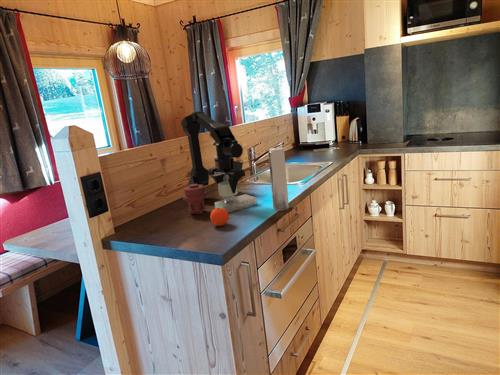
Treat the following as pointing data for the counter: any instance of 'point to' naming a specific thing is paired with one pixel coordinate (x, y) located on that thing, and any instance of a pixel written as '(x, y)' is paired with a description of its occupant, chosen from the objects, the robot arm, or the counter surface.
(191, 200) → the mechanical component
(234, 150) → the robot arm
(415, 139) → the counter surface
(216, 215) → the clementine
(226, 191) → the collar
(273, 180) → the tall grey block
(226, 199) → the beige rectangular block
